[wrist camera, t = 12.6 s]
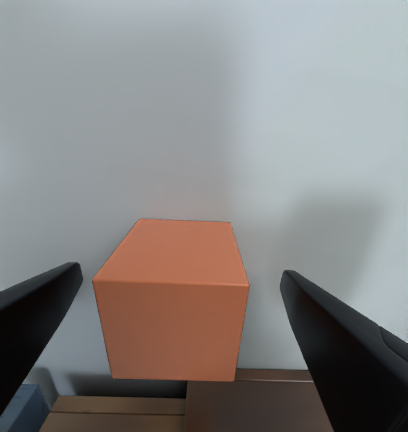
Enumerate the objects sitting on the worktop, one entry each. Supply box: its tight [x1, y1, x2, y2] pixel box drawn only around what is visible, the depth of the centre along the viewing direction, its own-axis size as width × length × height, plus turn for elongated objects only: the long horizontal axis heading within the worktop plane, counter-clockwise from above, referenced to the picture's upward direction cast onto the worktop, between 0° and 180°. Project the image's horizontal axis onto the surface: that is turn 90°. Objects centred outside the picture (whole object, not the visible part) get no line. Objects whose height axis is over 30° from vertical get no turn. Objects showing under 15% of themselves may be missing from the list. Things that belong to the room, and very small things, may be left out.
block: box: [92, 219, 250, 382], centre depth 8 cm, size 4×4×4 cm
